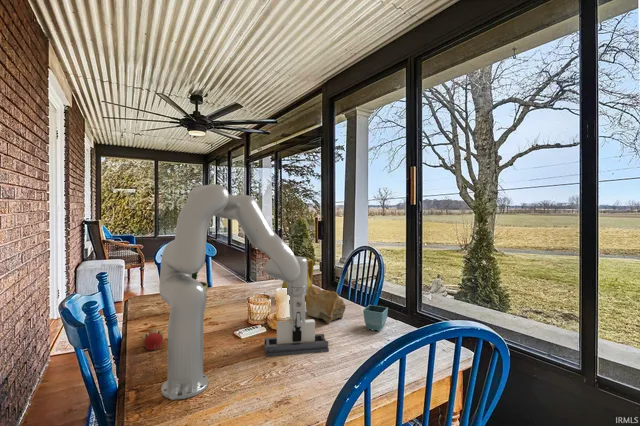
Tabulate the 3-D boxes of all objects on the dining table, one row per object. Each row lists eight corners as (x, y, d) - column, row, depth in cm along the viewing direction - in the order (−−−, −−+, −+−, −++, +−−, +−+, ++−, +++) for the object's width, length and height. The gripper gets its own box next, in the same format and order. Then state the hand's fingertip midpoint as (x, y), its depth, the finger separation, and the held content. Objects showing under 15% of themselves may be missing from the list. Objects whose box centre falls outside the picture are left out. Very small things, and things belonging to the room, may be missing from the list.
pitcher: (278, 297, 184) (281, 254, 183) (309, 297, 189) (312, 255, 189) (283, 307, 168) (287, 260, 167) (317, 306, 173) (320, 261, 172)
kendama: (139, 340, 127) (139, 352, 111) (142, 324, 128) (143, 333, 112) (160, 340, 130) (163, 351, 115) (163, 324, 131) (167, 333, 116)
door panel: (314, 345, 119) (315, 322, 119) (277, 348, 116) (277, 324, 116) (313, 341, 122) (313, 318, 122) (276, 344, 119) (276, 320, 119)
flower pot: (362, 330, 137) (362, 309, 137) (369, 323, 145) (369, 304, 145) (382, 334, 133) (382, 313, 133) (387, 327, 141) (388, 307, 141)
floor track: (328, 351, 116) (328, 343, 116) (265, 356, 111) (265, 348, 111) (322, 340, 126) (322, 332, 126) (264, 344, 121) (264, 336, 121)
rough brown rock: (356, 325, 146) (358, 292, 147) (325, 328, 138) (327, 293, 139) (330, 312, 166) (332, 283, 167) (302, 313, 158) (304, 283, 159)
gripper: (310, 295, 111) (309, 347, 111) (303, 284, 128) (302, 329, 128) (289, 296, 110) (288, 349, 110) (284, 284, 126) (283, 330, 126)
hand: (295, 338), depth 119 cm, fingers open, 4 cm apart
